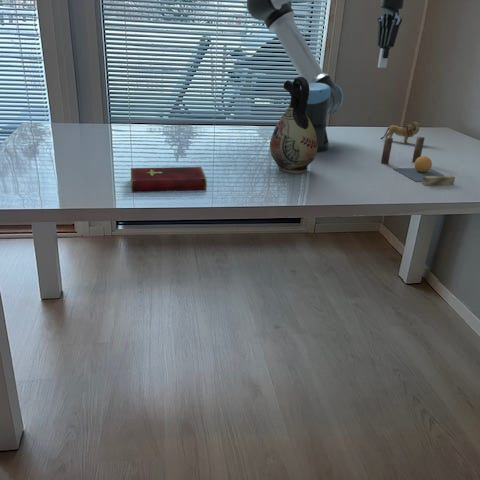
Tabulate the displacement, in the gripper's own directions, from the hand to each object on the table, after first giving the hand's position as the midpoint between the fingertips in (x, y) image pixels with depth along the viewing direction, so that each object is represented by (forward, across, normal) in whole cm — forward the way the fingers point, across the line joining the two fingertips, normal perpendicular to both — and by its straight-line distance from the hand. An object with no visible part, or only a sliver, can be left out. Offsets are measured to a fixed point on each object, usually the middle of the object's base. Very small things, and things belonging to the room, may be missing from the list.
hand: (381, 67), depth 179 cm
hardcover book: (+31, -34, +83) cm, 95 cm away
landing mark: (+30, -34, -2) cm, 46 cm away
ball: (+28, -31, -3) cm, 42 cm away
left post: (+30, -20, +4) cm, 37 cm away
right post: (+30, -20, -8) cm, 37 cm away
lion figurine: (+31, +9, -19) cm, 37 cm away
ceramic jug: (+31, -25, +41) cm, 57 cm away
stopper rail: (+30, -44, -1) cm, 53 cm away
